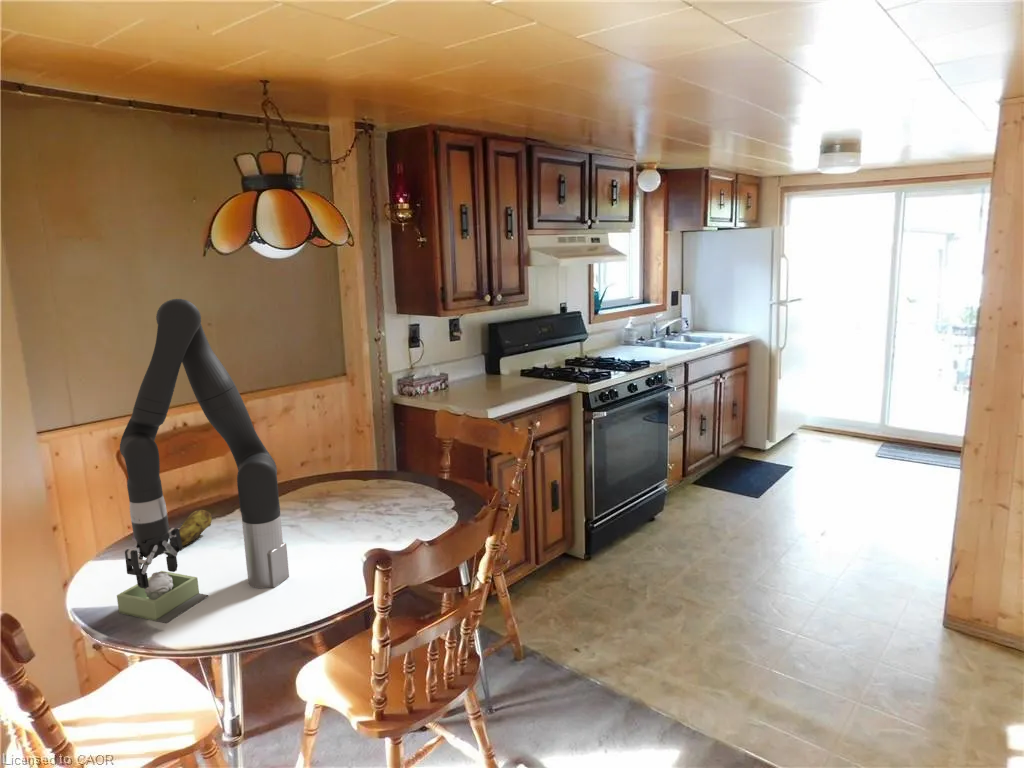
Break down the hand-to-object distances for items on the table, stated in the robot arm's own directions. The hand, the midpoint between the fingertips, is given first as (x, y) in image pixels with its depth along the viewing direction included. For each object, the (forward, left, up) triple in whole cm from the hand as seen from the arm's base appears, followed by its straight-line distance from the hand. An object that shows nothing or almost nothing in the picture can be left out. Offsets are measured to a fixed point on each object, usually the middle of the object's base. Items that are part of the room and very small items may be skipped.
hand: (158, 579), depth 163 cm
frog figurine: (+1, 0, -6) cm, 6 cm away
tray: (-1, 0, -6) cm, 7 cm away
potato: (+22, -32, -7) cm, 39 cm away
